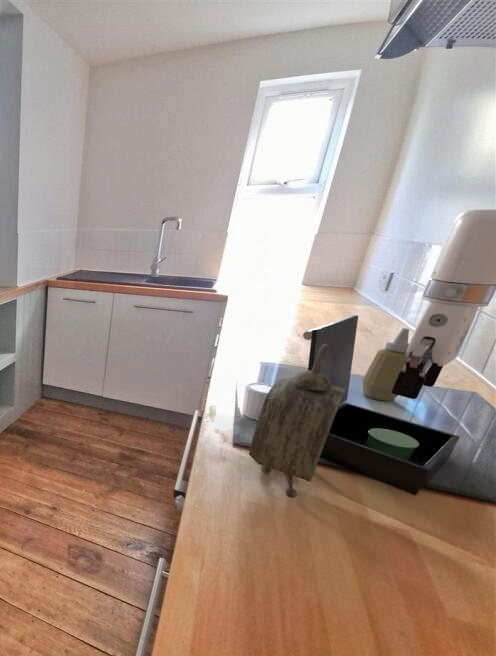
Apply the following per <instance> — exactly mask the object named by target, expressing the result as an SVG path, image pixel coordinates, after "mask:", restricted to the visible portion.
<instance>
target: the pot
mask: <svg viewBox="0 0 496 656" xmlns="http://www.w3.org/2000/svg"><path fill="white" fill-rule="evenodd" d="M368 435H369V436H368V438H367V441H366V443H365V446H366V447H369V448H372V449H375V450H377V451H380V452H383V453H386V454H389V455H392V456H394V457H397V458H400V459H403V460H406V461H409V460H410V458H411V456H412V453H413V451H414V449H416V448H418V446H419V443H418V441H416V440H415V439H414V438H412V437H410V436H408V435H405V434H403V433H400V432H396V431H393V430H388V429H381V428H373V429H370V430H369V431H368Z"/></svg>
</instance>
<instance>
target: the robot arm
mask: <svg viewBox="0 0 496 656" xmlns="http://www.w3.org/2000/svg"><path fill="white" fill-rule="evenodd" d="M495 293H496V209H471V210H470V209H469V210H466V211H464V212H461V213H460V214H459V215H458V216H457V217H456V218H455V219H454V221H453V223H452V225H451V228H450V230H449V233H448V235H447V237H446V239H445V242H444V244H443V246H442V249H441V251H440V253H439V256H438V257H437V260H436V263H435V264H434V267H433V270H432V272H431V274H430V277H429V279H428V281H427V284H426V286H425V288H424V290H423V293H422V296H421V297H420V299H421V300H424V301H427V304H426V307H425V309H424V311H423V313H422V314H421V316H420V319H419V321H418V323H417V325H416V328H415V330H414V331H413V335H411V336H412V337H411V339H410V341H409V342H408V343H409V346H408V348H407V351H406V354H405V356H406V358H407V359H408V360H407V362H406V363H405V365H404V367H403V368H402V370H401V372H400V373H399V375H398V378H397V380H396V382H395V384H394V387H393V389H392V391H391V392H392V393H393V394H396V395H398V396H400V397H403V398H408V399H410V400H416V399H417V398H418V397H419V395H420V392H421V390H422V389H423V386H425V387H429V388H432V387H434V386H435V385H436V382H437V380H438V378H439V376H440V374H441V372H442V370H443V368H444V366H446V365H448V364H450V363H451V362H452V361H454V360H455V359H457V357H458V356H459V353H460V351H461V349H462V347H463V344H464V342H465V340H466V338H467V335H468V333H469V331H470V329H471V326H472V324H473V322H474V319H475V317H476V315H477V312H478V308H482V307H484V308H485V307H486V308H487V307H488V306H489V304H490V303H491V300H492V299H493V297H494V295H495Z"/></svg>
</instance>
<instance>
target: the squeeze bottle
mask: <svg viewBox="0 0 496 656" xmlns="http://www.w3.org/2000/svg"><path fill="white" fill-rule="evenodd" d="M409 336H410V328H408V327H407V328H406V327H403V328H402V329H401V330H400V331H399V332H398V334H397V335H396V336H395V338H394V339H393V340H387V341H386V343H385V346H384V348H381V349H379V350H377V352H376V354H375V355H374V357H373V359H372V361H371V363H370V365H369V366H368V369H367V370H366V372H365V374H364V376H363V378H362V393H363V395H364V396H366V397H369V398H370V399H374V400H378V401H384V402H386V401H387V402H390V401H391V402H392V401H394V400H395V399H396V398H398V396H399V395H396V394H393V393H392V392H391V391H392V389H393V387H394V384H395V382H396V380H397V378H398V375H399V373H400V372H401V370H402V368H403V367H404V365H405V363H406V362H407V360H408V359H407V358H406V356H405V354H406V351H407V348H408V346H409V343H410V342H409Z"/></svg>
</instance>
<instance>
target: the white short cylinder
mask: <svg viewBox="0 0 496 656" xmlns="http://www.w3.org/2000/svg"><path fill="white" fill-rule="evenodd" d="M272 387H273V385H271V384H267V383H262V382H248V383H247V384H245V389H244V395H243V402H242V408H241V414H242V413H243V414H244V415H245V416H247V417H249V418H248V419H250V418H253V419H259V416H260V413H261V409H262V406H263V403H264V400H265V398H266V396H267V394H268V392H269V391H270V389H271V388H272ZM243 414H242V415H243ZM244 415H243V416H244ZM245 416H244V417H245ZM247 417H246V418H247ZM253 419H252V420H253Z"/></svg>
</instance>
